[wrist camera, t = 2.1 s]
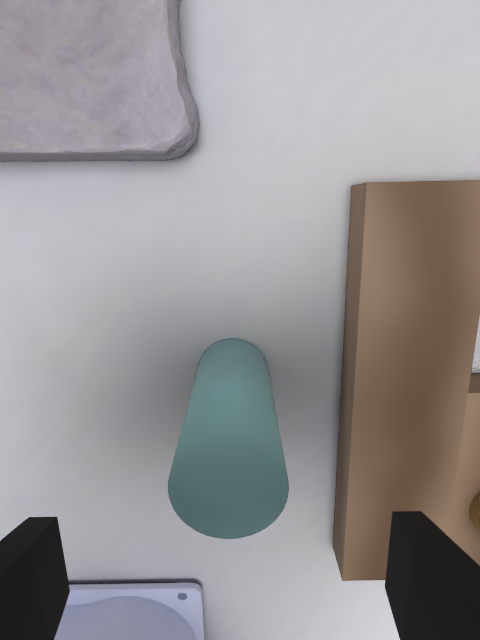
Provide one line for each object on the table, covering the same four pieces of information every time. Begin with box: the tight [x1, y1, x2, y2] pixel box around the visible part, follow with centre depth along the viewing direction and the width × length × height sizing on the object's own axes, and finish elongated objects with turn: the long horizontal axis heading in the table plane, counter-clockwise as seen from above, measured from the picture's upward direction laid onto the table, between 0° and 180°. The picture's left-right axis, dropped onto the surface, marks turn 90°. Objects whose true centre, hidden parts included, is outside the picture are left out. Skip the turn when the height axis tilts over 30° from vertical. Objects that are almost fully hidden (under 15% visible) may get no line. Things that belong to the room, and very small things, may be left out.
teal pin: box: [168, 338, 289, 539], centre depth 14 cm, size 3×3×8 cm
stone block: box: [0, 0, 199, 161], centre depth 13 cm, size 12×5×10 cm
